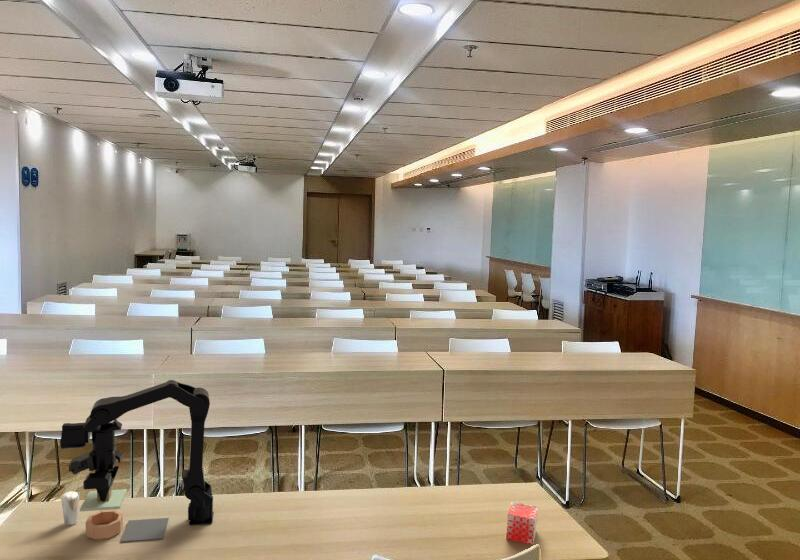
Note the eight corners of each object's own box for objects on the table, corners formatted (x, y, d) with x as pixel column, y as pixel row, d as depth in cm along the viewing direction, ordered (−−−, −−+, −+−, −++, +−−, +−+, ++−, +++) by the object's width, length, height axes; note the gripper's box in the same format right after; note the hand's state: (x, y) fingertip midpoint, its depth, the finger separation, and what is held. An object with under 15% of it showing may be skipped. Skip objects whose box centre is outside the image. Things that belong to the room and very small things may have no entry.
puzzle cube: (533, 545, 177) (535, 519, 176) (506, 539, 179) (507, 513, 178) (536, 531, 184) (538, 506, 183) (510, 525, 187) (511, 501, 186)
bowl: (124, 522, 178) (124, 509, 177) (118, 538, 169) (118, 525, 169) (91, 524, 176) (91, 511, 175) (83, 541, 167) (82, 527, 167)
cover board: (127, 491, 177) (126, 474, 177) (119, 508, 168) (119, 491, 167) (89, 493, 175) (89, 476, 174) (80, 511, 165) (79, 493, 165)
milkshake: (74, 528, 173) (73, 495, 172) (58, 525, 174) (57, 492, 173) (85, 520, 178) (85, 488, 176) (69, 517, 179) (69, 485, 177)
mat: (168, 519, 181) (168, 517, 181) (163, 539, 170) (163, 538, 170) (128, 521, 178) (128, 520, 178) (120, 542, 168) (120, 541, 167)
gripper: (81, 433, 176) (82, 484, 178) (61, 460, 158) (62, 517, 160) (122, 431, 179) (123, 482, 181) (107, 458, 161) (108, 514, 163)
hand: (104, 497), depth 171 cm, fingers closed on cover board, 3 cm apart
